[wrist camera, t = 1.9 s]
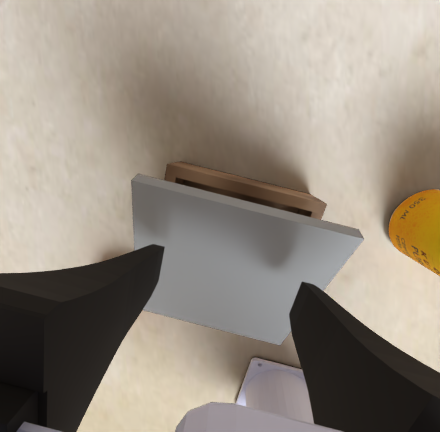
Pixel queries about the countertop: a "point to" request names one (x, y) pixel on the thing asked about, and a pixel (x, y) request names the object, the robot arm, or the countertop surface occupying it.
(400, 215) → the beer can
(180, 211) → the lid
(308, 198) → the box
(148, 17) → the countertop surface
